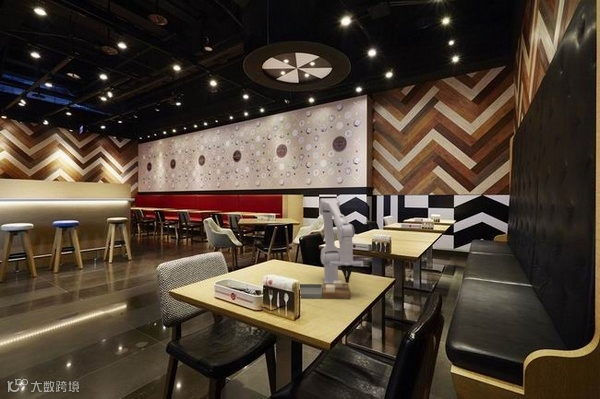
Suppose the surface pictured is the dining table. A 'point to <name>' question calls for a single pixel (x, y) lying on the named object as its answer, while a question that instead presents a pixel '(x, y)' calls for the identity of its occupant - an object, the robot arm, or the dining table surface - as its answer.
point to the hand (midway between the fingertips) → (347, 282)
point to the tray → (311, 291)
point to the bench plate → (337, 292)
